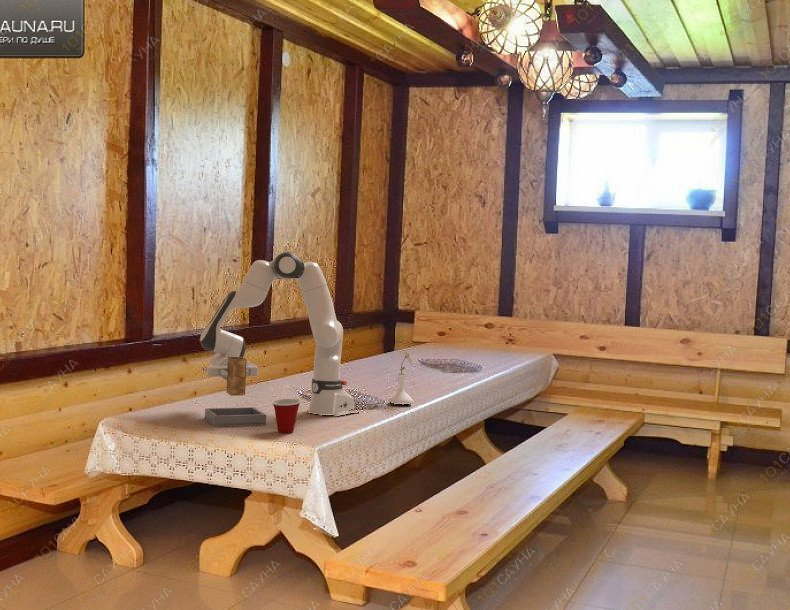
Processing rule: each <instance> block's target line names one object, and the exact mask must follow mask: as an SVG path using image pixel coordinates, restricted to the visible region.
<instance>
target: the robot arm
mask: <svg viewBox="0 0 790 610" xmlns="http://www.w3.org/2000/svg"><path fill="white" fill-rule="evenodd" d="M276 279H278V280H285V281H288V280H291V279H294V280H296V282H297V284H298V286H299V288H300V292H301V296H302V298H303V302H304V305H305V307H306V310H307V311H306V312H307V316H308V320H309V324H310V329H311V333H312V336H313V340H314V341H315V350H314V356H313V357H314V358H313V372H312V373H313V374H312V378H311V396H310V400H309V401H310V402H309V405H308V409H307V413H308V412H310V413H316V414H334V415H340V414H338V413H341V414H344V413H345V411H349V410H351V409H354V408H355V400H354V398H353V396H352V395H351V394H350V393H348V392H347V391H346V390H345V389H344V388H343V387H344V386H347V383H348V381H347V380H341V359H342V352H343V351H342V350H343V342H344V341H343V338H344V327H343V325H342V324H341V322H340V321H339V320H337V315H336V313H335V312H336V311H335V307H334V302H333V299H332V296H331V293H330V290H329V287H328V284H327V280H326V277H325V276H324V273H323V271H322V269H321V267H320V266H319V264H318V263H316V262H314V261H308V262H304V261H302V260H301V259H300V258H299V257H298V255H296V254H294V253H292V252H289V251H288V252H287V251H284V252H280V253H278V254H277V255H275V257H274V258H273V259H272V260H271V261H267V260H264V259H263V260H262V259H259V260H258V259H257V260H255V261H254V262H253V263H252V264H251V266H250V267H249V269H248V271H247V272H246V274H245V276H244V279H243V280H242V282H241V285H240V286H239V287H238V288H237V289H236V290H232V291H230V292H229V293H228V294H227V296H226V297H225V298H224V300H223V301H222V303H221V304H220V305H219V308H218V309H217V310H216V312H215V313H214V316H212V318H211V320H210V321H209V322H208V324H207V325H206V327H204V330H203V331H202V333H201V334H200V338H199V343H200V345H201V347H202V349H203V350H205V351H209V352H213V353H215V354H214V355H213V356H212V357H211V358H210V361H209V362H210V363H209V365H207V366H206V367H204V368H203V372H206V376H208V377H211V378H212V377H214V378H215V377H219V378H222V379H223V380H226V381H227V376H230V371H227V365H228V357H243V358H244V355H245V352H246V349H247V348H246V347H247V346H246V341H245V339H244V337H243V336H241V335H237V334H236V333H232V332H229V331H227V330H224V329H222V328H221V327H222V325H223V323H224V322H225V320H226V318H227V317H228V315H229V314H230V312H231V311H233V310H234V309H237V308H254V307H255V308H256V307H258V306H260V305H262V303H264V301H265V299H266V298H267V296H268V293H269V291H270V288H271V286H272V284H273V282H274V281H275V280H276ZM258 375H259V367H258V365H256V364H255V363H252V362H251V361H250V360H247V362H246V378H249V377H257V376H258ZM310 413H309V414H310ZM346 413H348V412H346Z"/></svg>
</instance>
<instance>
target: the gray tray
mask: <svg viewBox="0 0 790 610" xmlns="http://www.w3.org/2000/svg"><path fill="white" fill-rule="evenodd" d="M204 419H205V420H206V421H207V420H208V421H209V422H208V421H207V422H208V423H210V424H211V425H212V426H213V425H214V426H213V427H215V428H217V426H220V427H244V426H245V427H246V426H247V427H251V426H250V425H252V426H266V424H267V414H266V413H264V412H262V411H261V410H260V409H258V408H257V407H255V406H253V407H252V406H251V407H249V406H247V407H217V408H216V407H211V408H209V407H207V408H204Z"/></svg>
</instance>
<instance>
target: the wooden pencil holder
mask: <svg viewBox="0 0 790 610" xmlns="http://www.w3.org/2000/svg"><path fill="white" fill-rule="evenodd" d="M246 362H247V358H244V356H243V357H228V365H227V371H230V376H227V380H226V393H227V394H228V395H229V396H230V397H231V396H246V385H247V384H246V383H247V377H246Z"/></svg>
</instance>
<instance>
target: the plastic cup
mask: <svg viewBox="0 0 790 610" xmlns="http://www.w3.org/2000/svg"><path fill="white" fill-rule="evenodd" d="M271 403H272V406H273V409H274V413H275V414H274V415H275V421H276V422H275V423H276V428H277V432H278V433H279V434H293V433H294V431H295V430H294V429H295V426H296V422H297V417H298V411H299V407H300V404H301V400H300V399H298V398H282V399H276V400H275V399H274V400H272V401H271Z"/></svg>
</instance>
